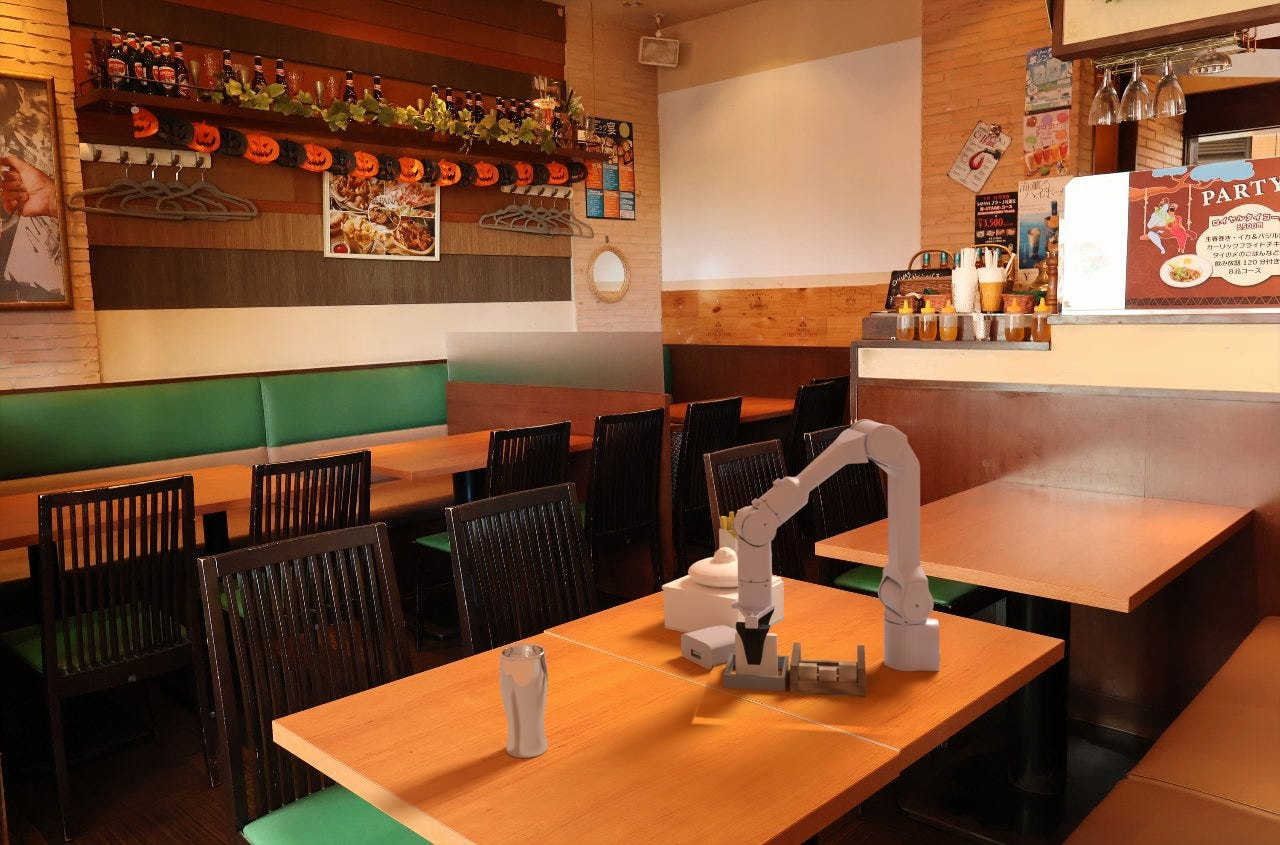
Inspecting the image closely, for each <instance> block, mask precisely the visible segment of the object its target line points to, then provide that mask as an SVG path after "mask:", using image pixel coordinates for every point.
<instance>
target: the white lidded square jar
mask: <svg viewBox="0 0 1280 845" xmlns="http://www.w3.org/2000/svg"><path fill="white" fill-rule="evenodd" d="M687 573H688V574H687V575H685V576H683V577H680V578H678V579H675V580H673V581H670V582H668V583H665V584H663V585H661V590H663V607H664V608H663V609H664V610H663V612H664V616H663V617H664V629H666V628H667V630H671V629H672V631H675V630H676V631H677V632H680V633H681V632H682V633H684V634H686V633H690V632H693V631H697V630H701V629H705V628H709V627H713V626H717V625H725V626H728V627H730V628H733V629H735V630H736V622H745V617H744V616H743V615H742V613H741V612H740V611H739V610H738V609H737V608H732V607H731V604H732V602H733V601H738V560H737V556H736V553H735V552H734V551H733V550H732V549H730V548H728V547H723V548H720V549H717V550H716V551H714V555H713V557H712V556H711V557H707V558H704V559H701V560H698V561H696V562H694V563H693V564H692V565H691V566H689V569H688V571H687ZM784 583H785V582H784V581H783V580H782V577H780V576H774V575H772V602H773V603H774V607H775V609H774V612H773V614H772V616H771V619H770V621H769V625H771V626H770V628H772V626H775V625H776V624H778V623H780V622H782V621H784V620H785V590H784V589H785V587H784V586H785V585H784Z"/></svg>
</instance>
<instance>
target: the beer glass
mask: <svg viewBox="0 0 1280 845" xmlns="http://www.w3.org/2000/svg"><path fill="white" fill-rule="evenodd" d="M548 675H549V674H548V664H547V657H546V648H545V647H544V646H542V645H541V644H537V643H531V642H529V643H517V644H516V643H515V644H510V645H508V646H506V647H503V648H502V649H501V650H500V652H499V686H500V693H501V699H502V704H503V708H504V712H505V716H506V722H507V730H508V731H507V739H506V740H507V741H506V749H505V750H506V753H507V754H508V755H509V756H511V757H513V758H517V759H530V758H531V759H532V758H534V757H539V756H541V755H542V754H544V753H545V752H546V751H547V750H548V747H549V745H548V738H547V734H546V730H545V715H546V714H545V712H546V706H547V701H548V700H547V698H548V690H549V688H548V687H549V683H548V682H549V679H548V678H549V677H548Z"/></svg>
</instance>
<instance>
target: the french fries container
mask: <svg viewBox="0 0 1280 845" xmlns="http://www.w3.org/2000/svg"><path fill="white" fill-rule="evenodd" d="M739 510H740V509H738V510H737V512H738V511H739ZM737 512H736V513H737ZM728 515H729V516H728V517H727V516H726V515H725V516H724V515H722V516H720V517H719V522H720V524H719V525H720V527H719V528H718V537H719V538H718V539H719V542H718V543H719V544H718V545H719V547H718V548H719V549H720V548H723V547H728V548H730V549H732V550H733V551H734V552H735V553H736V556H737V551H738V535H737V534H736V533H735V531H734V529H733V527H732V522H734V518H736V516H735V512H734V511H729V514H728ZM719 549H718V550H719Z"/></svg>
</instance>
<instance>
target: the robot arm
mask: <svg viewBox="0 0 1280 845" xmlns="http://www.w3.org/2000/svg"><path fill="white" fill-rule="evenodd" d="M869 460H870V461H873V463H875V465H877V466H878V467H879V468H880V469H882V470H883V471H884V472H885V473H886V474H887V534H888V535H887V541H888V542H887V544H888V545H887V546H888V549H887V550H888V552H887V553H888V555H887V556H888V562H887V563H886V565H885V566H884V567H883V569H882V577H881V578H882V579H881V581H880V583H879V586H878V588H877V595H878V596H877V597H878V599H879V602H880V603H881V604H882V605H883V606H884V612H883V663H884V665H885V666H886V667H888V668H890V669H894V670H897V671H904V672H913V671H915V672H916V671H926V672H927V671H928V672H930V671H931V672H940V662H941V650H940V649H941V648H940V644H941V642H940V625H939V624H940V623H939V620H938V619H937V618H931V617H930V616H931V614H932V612H933V611H934V610H933V609H934V605H935V604H934V598H933V596H932V594H931V592H930V589H929V580H928V577H927V576H926V573H925V571H924V570H923V567H922V564H921V464H920V461H919V459H918V458H917V456H916V454H915V452H914V450H913V449H912V447H911V446H910V444H909V442H908V436H907V435H906V434H905V433H903V431H901V430H899V429H898V428H897V427H895V426H893V425H891V424H884V423H880V422H877V421H873V420H872V419H868V418H867V419H866V418H863V419H859V420H858V421H855V422H854V423H853V424H852V425H851V426H850V427H849V428H846V429H844V430H843V431H842V432H841V433H840V434H839V435H838V437H837V438H836V439H835V440H834V441H833V442H832V443H831V444H829V445H828V447H827V448H826V449H825V450H823V452H821V453H820V454H819V455H818V456H816V457H815V459H814V460H812V461H811V462H810V464H808V465H807V466H806V467H805V468H804V469H803V470H802V471H801V472H800V473H798V474H797V475H796V476H784V477H783V478H782V479H780V478H777V479H775V480H774V481H773V482H772V485H773V486H772V487H771V488H770V489H768V490H767V491H766V492H765V493H764V494H763V495H761V496H760V497H759V498H754V499H752V501H751V504H752V505H748V506H747V505H746V506H744V507H742V508H740V509H738V510H739V511H738V510H737V511H738V512H736V514H735V517H736V518H735V517H734V522H732V527H733V529H734V531H735V533H736V534H737V535H738V551H737V560H738V601H733V602H732V604H731V607H732V608H737V609H738V610H739V611H740V612H741V613H742V615H743V616H744V617H745V622H736V630H737V632H738V634H739V636H740V638H741V640H742V643H743V646H744V651H745V655H746V660H747V663H748V665H760V664H761V660H762V655H763V647H764V641H765V638H766V635H767V633H769V632H770V629H771V627H772V626H771V625H769V621H770V619H771V616H772V614H773V612H774V609H775V607H774V603H773V602H772V576H773V571H772V570H773V567H772V565H773V564H772V563H773V562H772V560H773V559H772V557H773V556H772V541H773V540H774V539H775V537H776V535H777V531H778V530H777V529H778V528H779V527H781V525H783V524H784V523H785V522H786V521H788V520H789V519H790V518H791V517H792V516H794V515H795V514H796V513H797V512H799V510H801V509H802V508H803V507H805V506H806V505H807V504H808V502H809V496H810V492H811V491H813V490H814V489H815V488H817V487H818V486H819V485H821V484H822V483H823V482H825V481H826V480H827V479H829V478H830V477H831V476H833V475H834V474H835V473H836V472H838V471H839V470H841V469H842V468H843V467H844V466H846V465H848V464H849V465H850V464H867V463H869ZM770 626H771V627H770Z"/></svg>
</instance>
